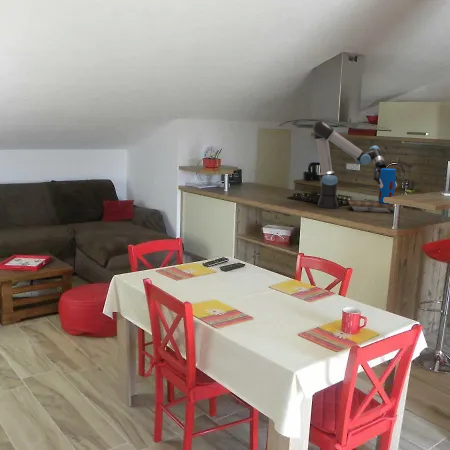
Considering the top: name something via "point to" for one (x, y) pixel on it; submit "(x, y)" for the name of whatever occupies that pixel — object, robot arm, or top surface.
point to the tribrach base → (370, 209)
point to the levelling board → (368, 203)
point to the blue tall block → (387, 184)
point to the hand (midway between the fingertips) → (389, 187)
